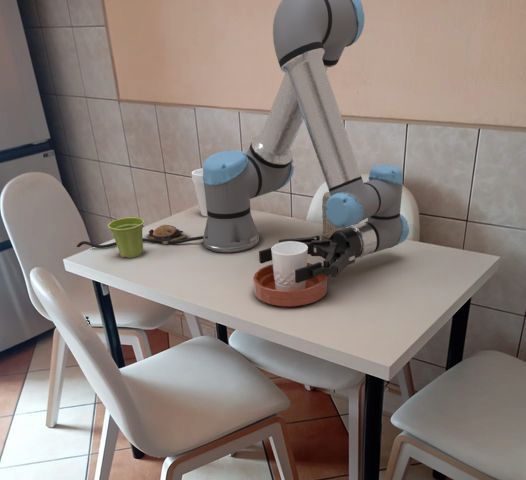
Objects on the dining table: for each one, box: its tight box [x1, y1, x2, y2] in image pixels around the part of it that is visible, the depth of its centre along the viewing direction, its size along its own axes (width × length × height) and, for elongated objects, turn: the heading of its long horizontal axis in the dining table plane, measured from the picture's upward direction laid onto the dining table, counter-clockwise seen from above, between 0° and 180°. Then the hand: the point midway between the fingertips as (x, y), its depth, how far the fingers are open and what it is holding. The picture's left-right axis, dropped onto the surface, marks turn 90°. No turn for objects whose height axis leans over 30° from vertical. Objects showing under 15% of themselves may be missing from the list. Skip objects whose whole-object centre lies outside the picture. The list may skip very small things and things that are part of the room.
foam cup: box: [191, 167, 207, 217], centre depth 178 cm, size 10×9×13 cm
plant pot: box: [107, 216, 145, 259], centre depth 152 cm, size 9×9×9 cm
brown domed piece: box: [146, 224, 188, 246], centre depth 163 cm, size 11×8×4 cm
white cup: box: [270, 241, 309, 291], centre depth 126 cm, size 8×8×10 cm
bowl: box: [252, 262, 328, 307], centre depth 128 cm, size 16×16×4 cm
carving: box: [321, 191, 344, 239], centre depth 154 cm, size 6×8×12 cm
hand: (277, 266), depth 124 cm, fingers open, 13 cm apart
